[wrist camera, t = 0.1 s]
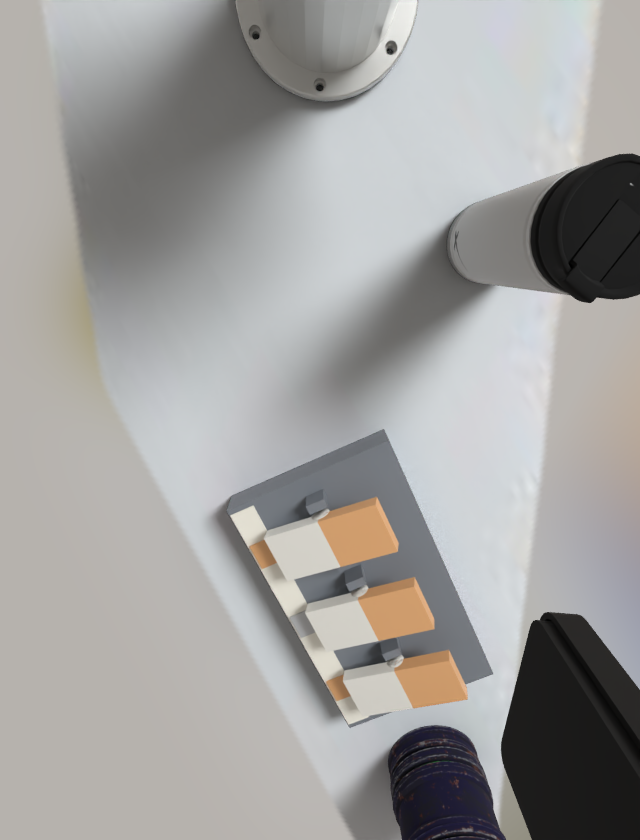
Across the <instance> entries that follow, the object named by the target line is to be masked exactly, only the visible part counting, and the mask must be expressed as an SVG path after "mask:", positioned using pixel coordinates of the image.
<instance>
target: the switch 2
mask: <svg viewBox="0 0 640 840" xmlns="http://www.w3.org/2000/svg"><path fill="white" fill-rule="evenodd" d="M305 614H306V616H307V617H308V619H309V621H310V623H311V625H312V627H313V628H314V630H315V632H316V634H317V636H318V637H319V639H320V641H321V643H322V645H323V646H324V648H325V650H326V652H330V651H334V650H339V649H344V648H348V647H353V646H358V645H362V644H367V643H372V642H377V641H381V640H386V639H391V638H395V637H400V636H405V635H409V634H414V633H419V632H423V631H428V630H433V629H434V617H433V615H432V613H431V611H430V608H429V606H428V604H427V602H426V600H425V598H424V596H423V594H422V591H421V589H420V587H419V585H418V583H417V581H416V579H415V577H413V578H409V579H405V580H401V581H397V582H393V583H389V584H385V585H381V586H377V587H373V588H368V586H367V585H364V586H362V587H359V588H357V589H354V590H352V591H351V593H348V594H344V595H340V596H336V597H332V598H328V599H324V600H320V601H316V602H312V603H308V605H307V608H306V612H305Z"/></svg>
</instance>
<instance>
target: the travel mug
mask: <svg viewBox="0 0 640 840" xmlns="http://www.w3.org/2000/svg"><path fill="white" fill-rule="evenodd" d="M447 252H448V257H449V260H450V262H451V264H452V266H453V267H454V269H455V270H456V272H458V273H459V274H460V275H461V276H462V277H464V278H465V279H467V280H469V281H472V282H475V283H483V284H490V285H498V286H505V287H513V288H520V289H528V290H535V291H543V292H550V293H558V294H565V295H571V296H572V297H574V298H575V299H577V300H579V301H582V302H587V303H591V302H593V301H594V300H595V299H596V297H598V298H606V299H613V300H614V299H625V298H629V297H633V296H636V295H639V294H640V156H638V155H635V154H619V155H615V156H612V157H608V158H605V159H602V160H599V161H596V162H594V163H589V164H585V165H582V166H578V167H575V168H573V169H570V170H567V171H564V172H561V173H558V174H556V175H553V176H550V177H547V178H544V179H541V180H539V181H536V182H533V183H530V184H527V185H524V186H522V187H519V188H516V189H513V190H510V191H507V192H504V193H502V194H499V195H496V196H493V197H490V198H487V199H485V200H482V201H479V202H476V203H474V204H472V205H470V206H468V207H467V208H466V209H464V210H463V211H462V212H461V213H460V214H459V215H458V216H457V217H456V219H455V220H454V222H453V224H452V226H451V228H450V231H449V234H448V239H447Z"/></svg>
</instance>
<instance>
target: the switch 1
mask: <svg viewBox="0 0 640 840" xmlns="http://www.w3.org/2000/svg"><path fill="white" fill-rule="evenodd" d="M264 540H265V542H266V543H267V545H268V547H269V549H270V551H271V552H272V554H273V556H274V558H275V560H276V561H277V563H278V565H279V567H280V569H281V571H282V572H283V574H284V576H285V578H286V580H287V581H290V580H294V579H298V578H302V577H305V576H309V575H313V574H317V573H320V572H324V571H328V570H332V569H335V568H339V567H343V566H346V565H350V564H354V563H358V562H361V561H365V560H369V559H373V558H376V557H380V556H384V555H388V554H391V553H395V552H398V544H399V543H398V540H397V538H396V536H395V534H394V532H393V530H392V528H391V526H390V523H389V521H388V519H387V517H386V515H385V513H384V511H383V509H382V506H381V504H380V502H379V500H378V498H377V497H374V498H371V499H368V500H365V501H361V502H358V503H355V504H352V505H348V506H345V507H342V508H339V509H335V510H332V511H330V510H329V509H328V508H325V509H323V510H320V511H318V512H315V513H314V514H313V515H312V517H309V518H306V519H303V520H300V521H296V522H293V523H290V524H287V525H283V526H280V527H277V528H274V529H270V530H268V531H267V533H266V535H265V537H264Z"/></svg>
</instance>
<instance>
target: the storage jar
mask: <svg viewBox="0 0 640 840" xmlns="http://www.w3.org/2000/svg"><path fill="white" fill-rule="evenodd" d="M388 767H389V772H390V779H391V794H392V800H393V810H394V814H395V816H396V820H397V822H398V824H399V826H400V830H401V836H402V840H506V838H505V837H504V835H503V834H502V832H501V831H500V828H499V825H498V822H497V819H496V816H495V813H494V810H493V799H492V793H491V790H490V787H489V785H488V782H487V779H486V775H485V773H484V770H483V768H482V766H481V764H480V762H479V759H478V757H477V752H476V749H475V747H474V745H473V743H472V742H471V740H470V739H469V738H468V737H467V736H466V735H465V734H463V733H462V732H460V731H458V730H456V729H454V728H451V727H446V726H438V725H434V726H425V727H421V728H418V729H415V730H412V731H410V732H408V733H407V734H405V735H404V736H402V737H401V738H400V739H399V740H398V741H397V742H396V743H395V744H394V746H393V747H392V749H391V751H390V754H389V758H388Z"/></svg>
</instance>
